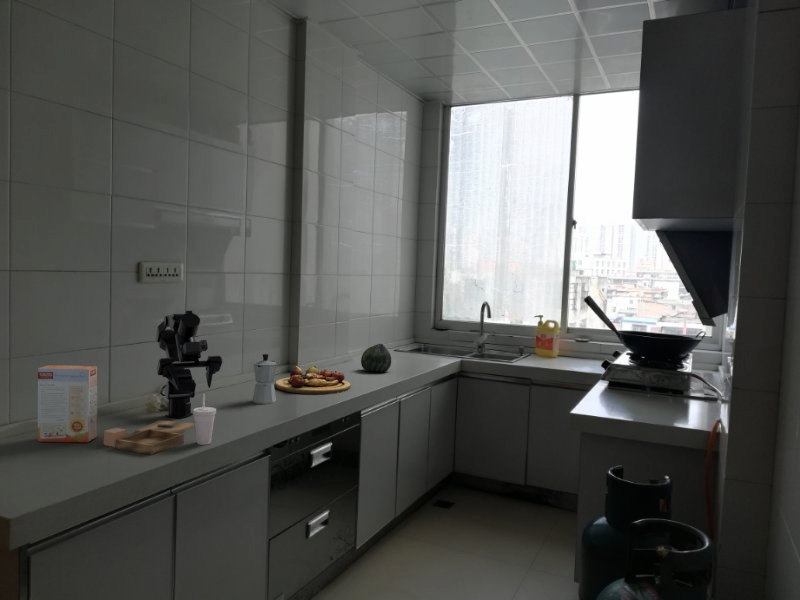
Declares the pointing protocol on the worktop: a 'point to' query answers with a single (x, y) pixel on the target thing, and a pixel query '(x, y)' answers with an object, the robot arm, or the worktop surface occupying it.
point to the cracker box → (67, 403)
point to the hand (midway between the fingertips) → (194, 388)
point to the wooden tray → (149, 441)
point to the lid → (168, 426)
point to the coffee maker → (264, 381)
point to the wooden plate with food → (313, 382)
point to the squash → (376, 358)
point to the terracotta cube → (113, 436)
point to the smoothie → (204, 423)
